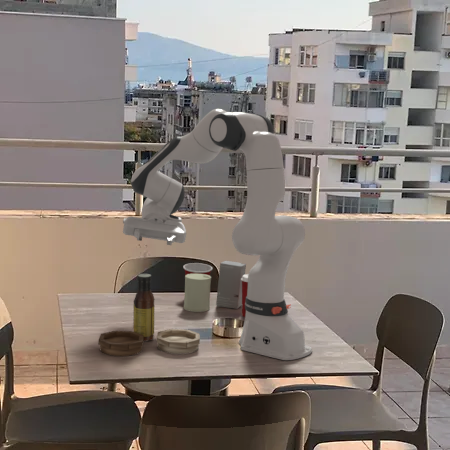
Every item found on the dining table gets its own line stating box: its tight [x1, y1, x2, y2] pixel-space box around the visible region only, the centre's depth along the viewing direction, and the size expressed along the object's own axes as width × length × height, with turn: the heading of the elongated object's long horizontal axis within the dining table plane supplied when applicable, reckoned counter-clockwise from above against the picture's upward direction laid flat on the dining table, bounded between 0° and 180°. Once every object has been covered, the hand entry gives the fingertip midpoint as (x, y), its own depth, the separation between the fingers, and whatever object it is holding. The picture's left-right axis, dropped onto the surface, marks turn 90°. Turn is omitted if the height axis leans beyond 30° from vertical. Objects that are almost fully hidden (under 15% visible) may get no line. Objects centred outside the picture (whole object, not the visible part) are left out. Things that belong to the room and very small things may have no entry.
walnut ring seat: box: [98, 330, 145, 357], centre depth 208 cm, size 12×12×4 cm
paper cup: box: [241, 273, 249, 318], centre depth 248 cm, size 8×8×14 cm
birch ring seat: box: [156, 328, 201, 355], centre depth 213 cm, size 12×12×4 cm
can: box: [183, 274, 212, 313], centre depth 254 cm, size 9×9×12 cm
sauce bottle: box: [132, 273, 155, 342], centre depth 217 cm, size 6×6×20 cm
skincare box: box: [215, 260, 247, 310], centre depth 259 cm, size 8×7×16 cm
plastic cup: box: [183, 262, 213, 276], centre depth 268 cm, size 11×11×12 cm
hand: (154, 240), depth 228 cm, fingers open, 8 cm apart
